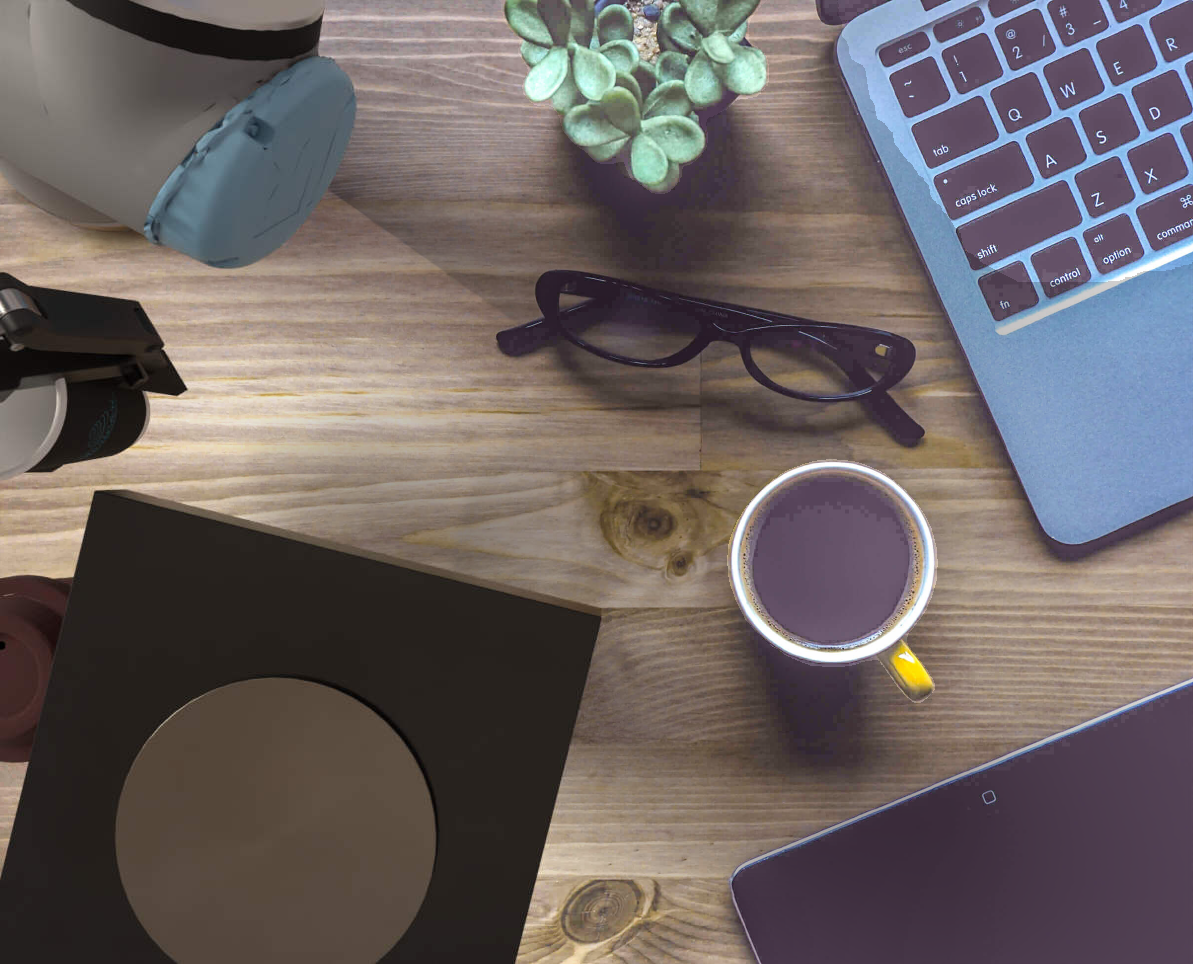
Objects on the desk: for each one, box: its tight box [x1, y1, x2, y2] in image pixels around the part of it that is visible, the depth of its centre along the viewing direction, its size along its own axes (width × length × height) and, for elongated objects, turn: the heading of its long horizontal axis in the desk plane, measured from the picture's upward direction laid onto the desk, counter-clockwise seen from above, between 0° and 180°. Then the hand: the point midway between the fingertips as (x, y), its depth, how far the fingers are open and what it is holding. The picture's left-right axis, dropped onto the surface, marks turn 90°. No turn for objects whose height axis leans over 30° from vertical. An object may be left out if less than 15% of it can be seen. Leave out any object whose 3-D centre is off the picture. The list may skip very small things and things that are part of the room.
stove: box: [0, 488, 603, 964], centre depth 31 cm, size 20×18×4 cm
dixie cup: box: [0, 377, 152, 482], centre depth 47 cm, size 8×8×11 cm
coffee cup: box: [0, 574, 74, 764], centre depth 53 cm, size 10×10×15 cm
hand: (107, 411), depth 52 cm, fingers closed on dixie cup, 8 cm apart
